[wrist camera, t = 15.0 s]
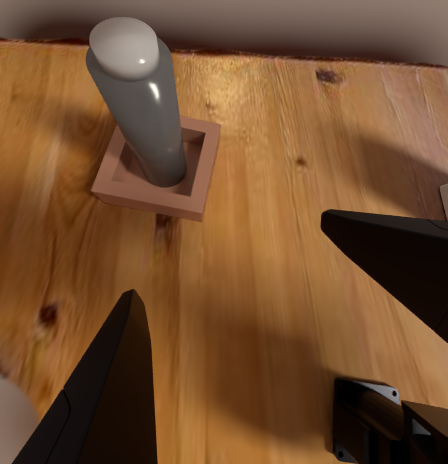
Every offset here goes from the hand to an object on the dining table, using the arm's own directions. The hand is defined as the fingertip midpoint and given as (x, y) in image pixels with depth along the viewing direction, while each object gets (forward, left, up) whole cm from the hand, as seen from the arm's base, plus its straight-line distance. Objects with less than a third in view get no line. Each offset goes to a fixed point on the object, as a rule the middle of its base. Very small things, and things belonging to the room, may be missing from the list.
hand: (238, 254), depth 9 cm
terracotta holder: (+8, -11, -14) cm, 19 cm away
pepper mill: (+8, -11, -13) cm, 19 cm away
